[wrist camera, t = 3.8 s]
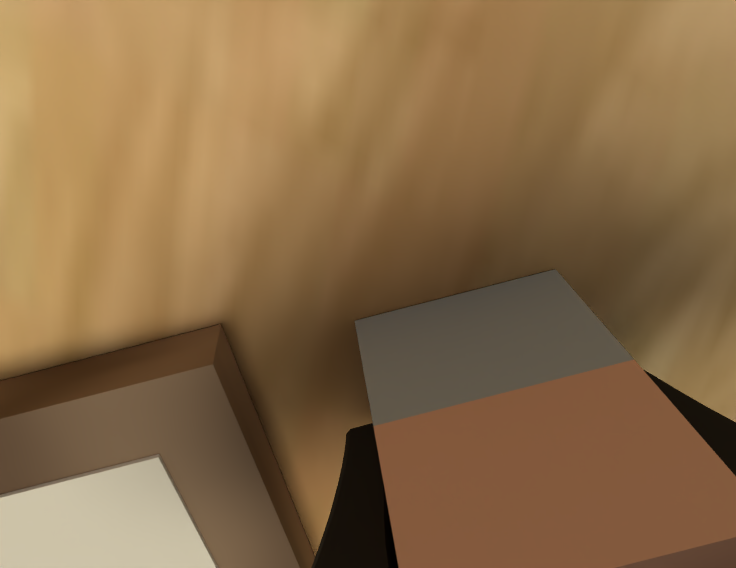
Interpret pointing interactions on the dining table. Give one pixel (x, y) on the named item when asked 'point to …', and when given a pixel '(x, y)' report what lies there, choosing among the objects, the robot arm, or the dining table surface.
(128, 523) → the walnut board
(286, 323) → the dining table surface
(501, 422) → the block stack
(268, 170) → the dining table surface
